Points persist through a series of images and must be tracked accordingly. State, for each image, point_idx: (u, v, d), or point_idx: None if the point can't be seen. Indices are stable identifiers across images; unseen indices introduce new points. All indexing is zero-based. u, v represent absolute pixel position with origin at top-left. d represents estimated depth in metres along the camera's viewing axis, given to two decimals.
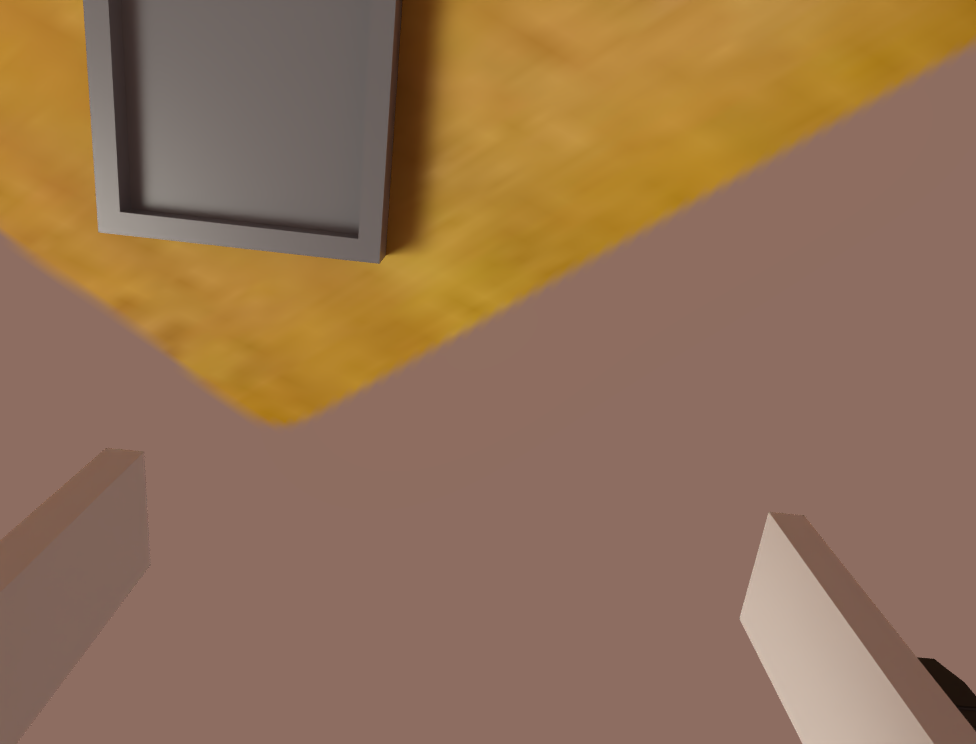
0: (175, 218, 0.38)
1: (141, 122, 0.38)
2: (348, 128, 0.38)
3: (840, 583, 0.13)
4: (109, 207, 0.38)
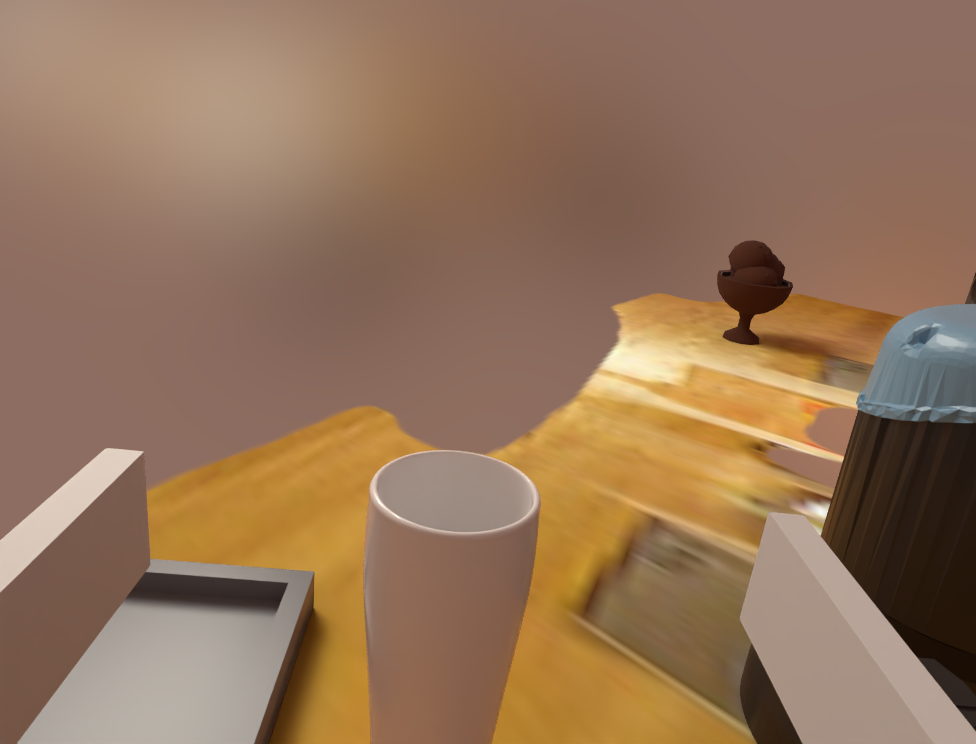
0: None
1: None
2: None
3: (840, 583, 0.13)
4: None
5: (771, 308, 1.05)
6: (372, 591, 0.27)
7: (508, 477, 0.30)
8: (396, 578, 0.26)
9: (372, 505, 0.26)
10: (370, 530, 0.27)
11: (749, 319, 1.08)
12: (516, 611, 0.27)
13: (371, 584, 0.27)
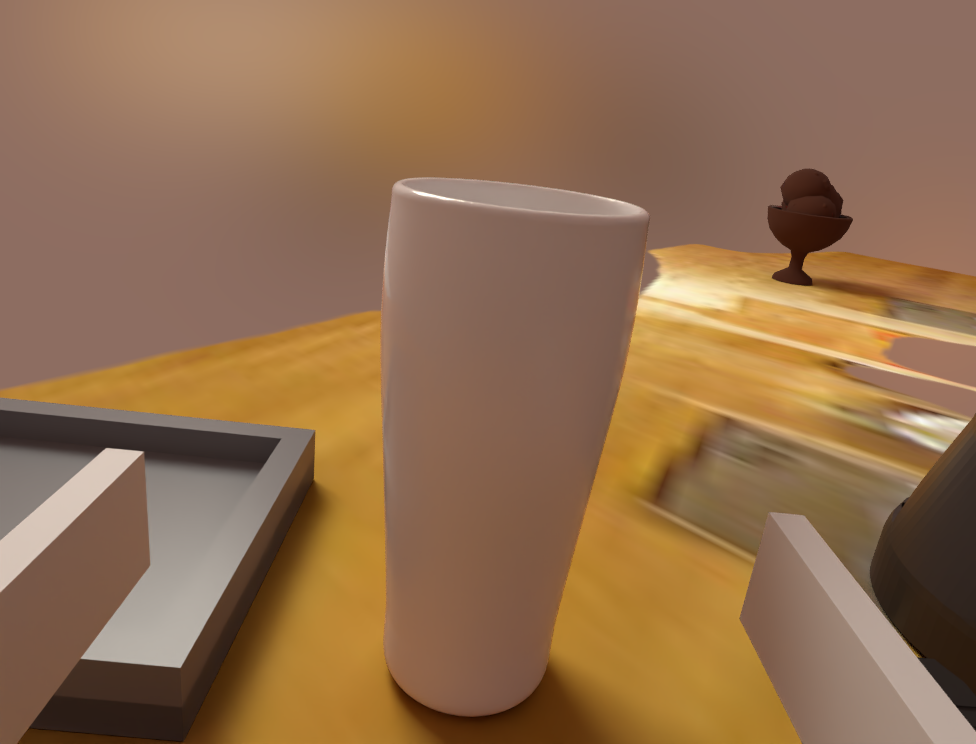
0: None
1: (43, 449, 0.31)
2: None
3: (840, 583, 0.13)
4: None
5: (828, 244, 0.95)
6: (394, 339, 0.18)
7: (591, 212, 0.21)
8: (433, 300, 0.17)
9: (397, 199, 0.17)
10: (393, 241, 0.17)
11: (802, 258, 0.98)
12: (611, 377, 0.18)
13: (393, 329, 0.18)
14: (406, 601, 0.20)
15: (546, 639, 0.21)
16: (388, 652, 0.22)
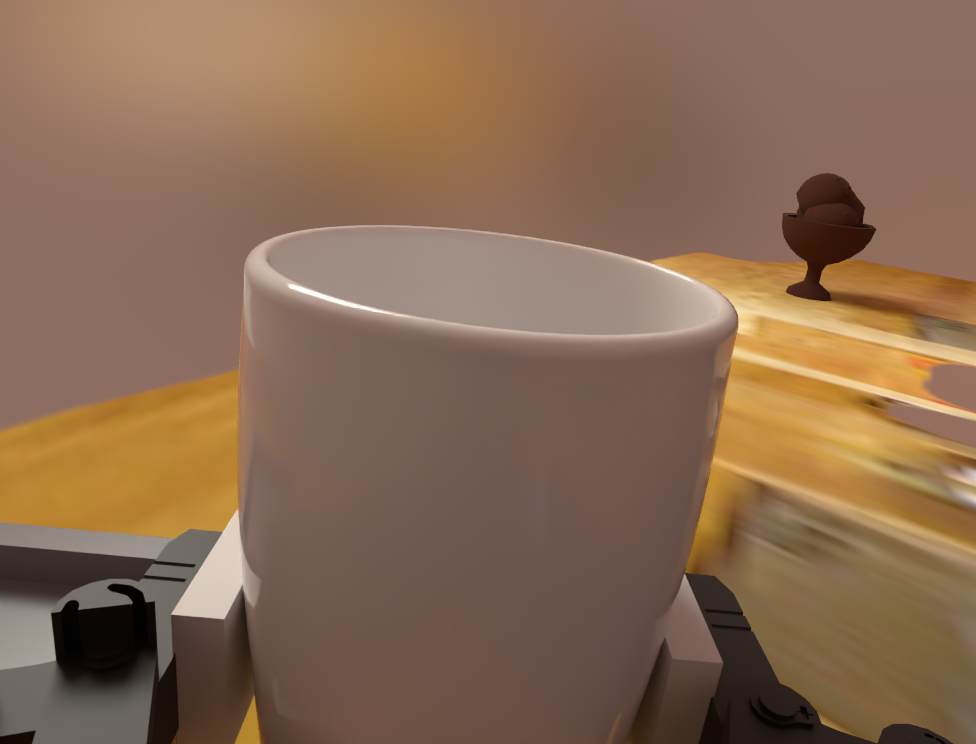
0: None
1: None
2: None
3: None
4: None
5: (848, 255, 0.87)
6: (249, 549, 0.09)
7: (618, 284, 0.12)
8: (307, 501, 0.08)
9: (245, 285, 0.09)
10: (242, 365, 0.09)
11: (820, 270, 0.90)
12: (664, 615, 0.10)
13: (247, 529, 0.09)
14: None
15: None
16: None
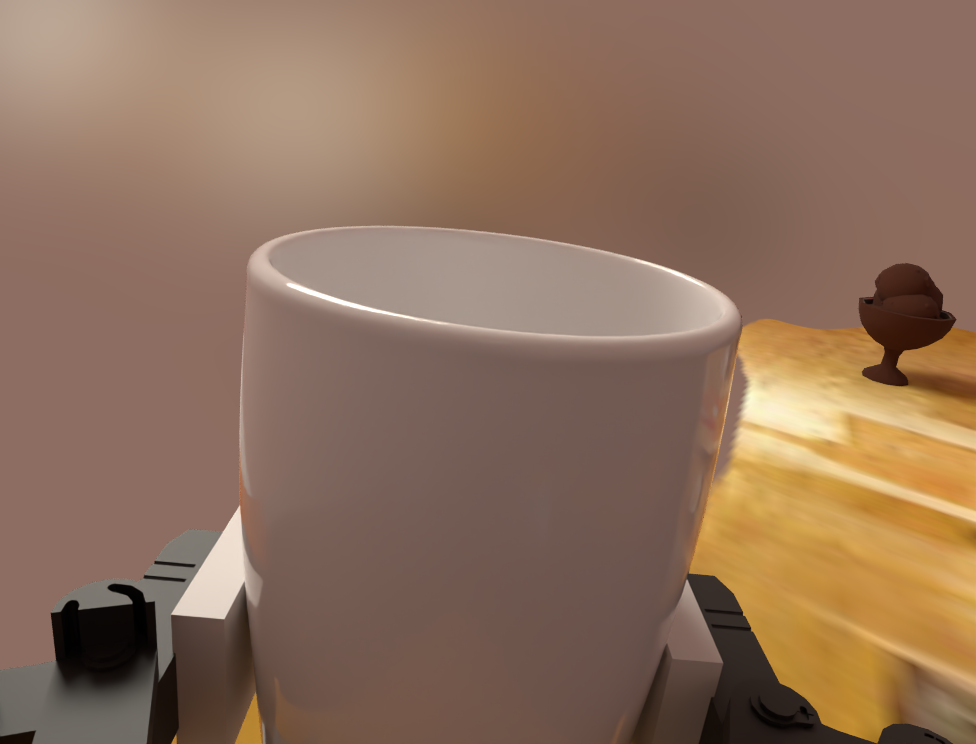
0: None
1: None
2: None
3: None
4: None
5: (928, 343, 0.89)
6: (252, 551, 0.09)
7: (621, 285, 0.12)
8: (310, 503, 0.08)
9: (248, 286, 0.09)
10: (243, 367, 0.09)
11: (897, 355, 0.92)
12: (667, 617, 0.10)
13: (249, 530, 0.09)
14: None
15: None
16: None
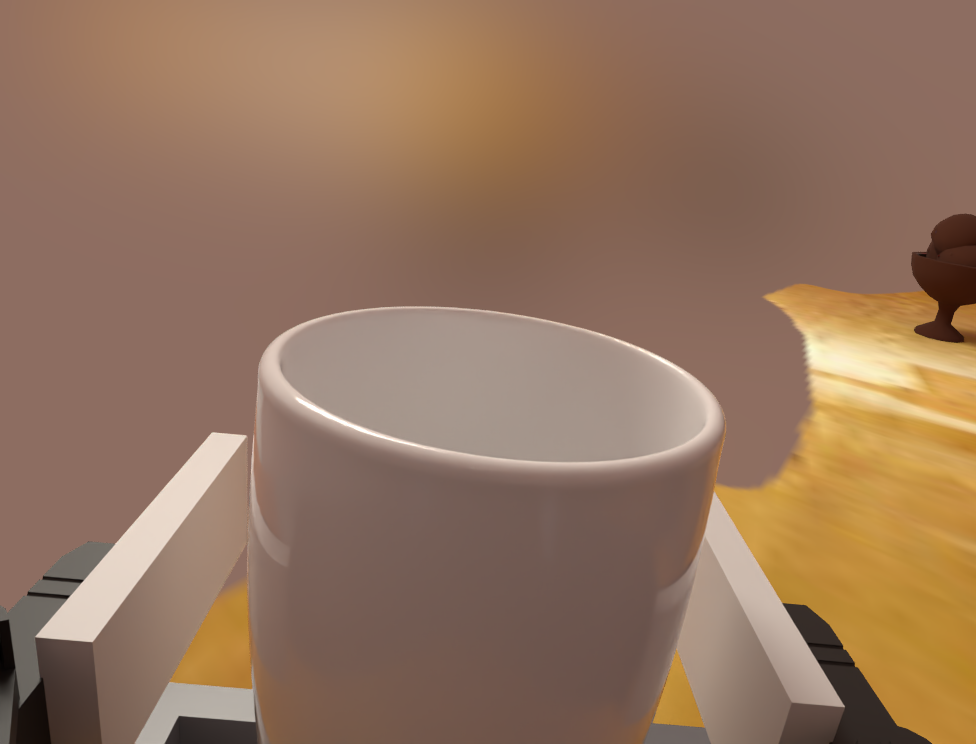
0: None
1: None
2: None
3: (725, 538, 0.14)
4: (192, 702, 0.21)
5: None
6: (258, 637, 0.10)
7: (613, 368, 0.13)
8: (315, 605, 0.08)
9: (260, 391, 0.09)
10: (254, 464, 0.09)
11: (953, 311, 0.88)
12: (652, 703, 0.10)
13: (256, 617, 0.10)
14: None
15: None
16: None
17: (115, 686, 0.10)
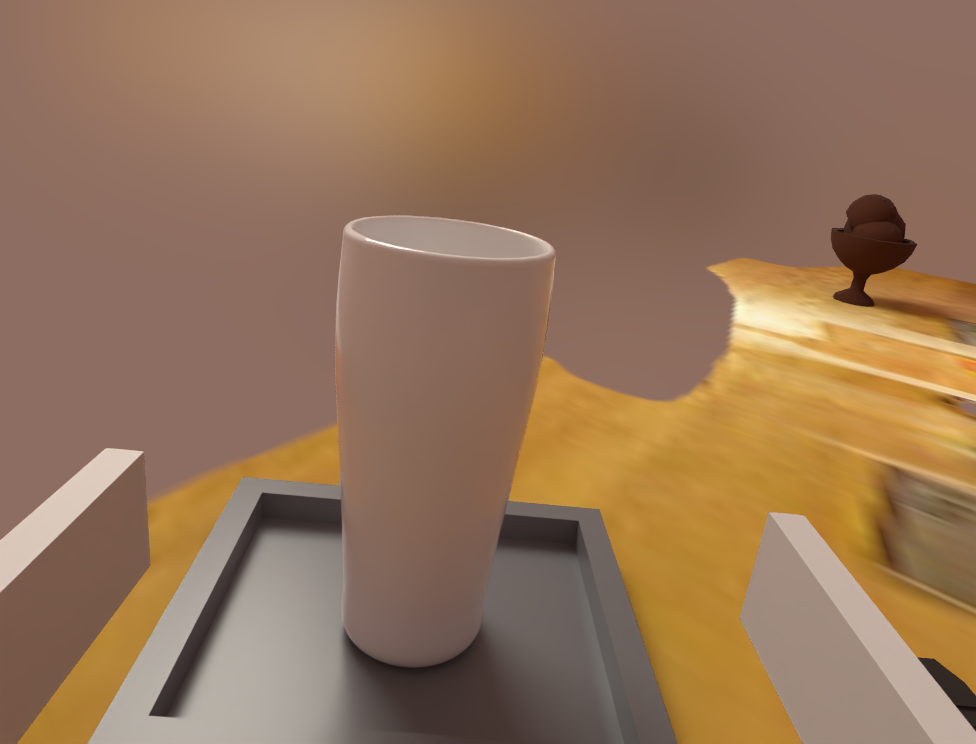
0: (243, 529, 0.30)
1: None
2: None
3: (840, 583, 0.13)
4: (269, 486, 0.33)
5: (892, 267, 0.99)
6: (345, 355, 0.22)
7: (514, 245, 0.25)
8: (375, 325, 0.20)
9: (346, 241, 0.21)
10: (343, 275, 0.21)
11: (865, 279, 1.02)
12: (524, 385, 0.22)
13: (344, 346, 0.22)
14: (358, 571, 0.24)
15: (478, 602, 0.26)
16: (345, 615, 0.26)
17: None
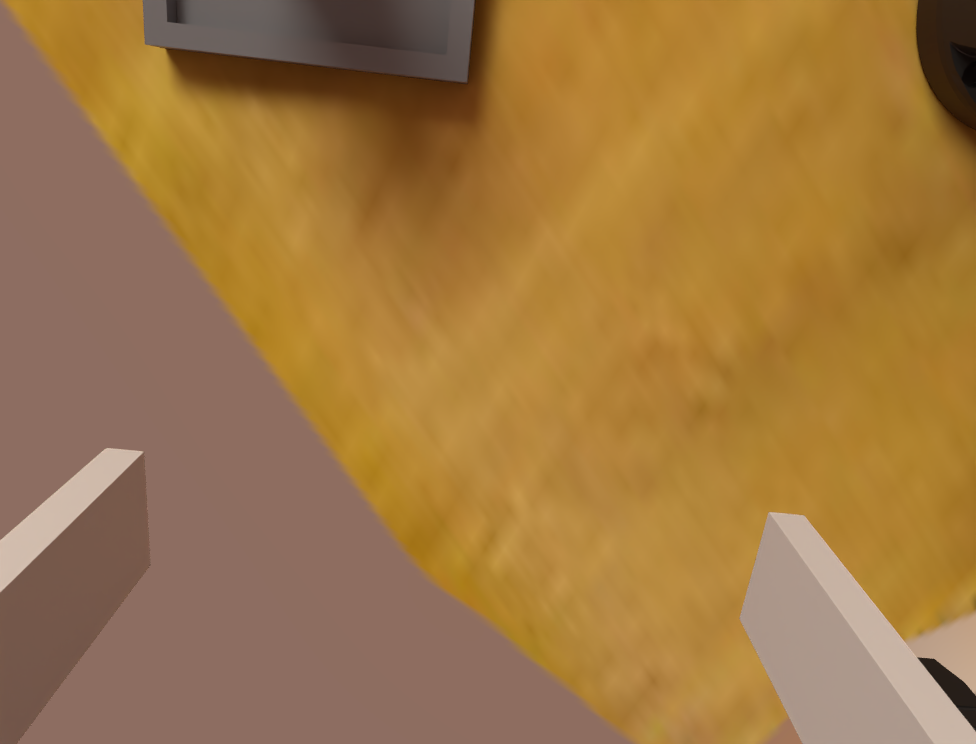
0: None
1: None
2: (280, 16, 0.38)
3: (840, 583, 0.13)
4: None
5: None
6: None
7: None
8: None
9: None
10: None
11: None
12: None
13: None
14: None
15: None
16: None
17: None
